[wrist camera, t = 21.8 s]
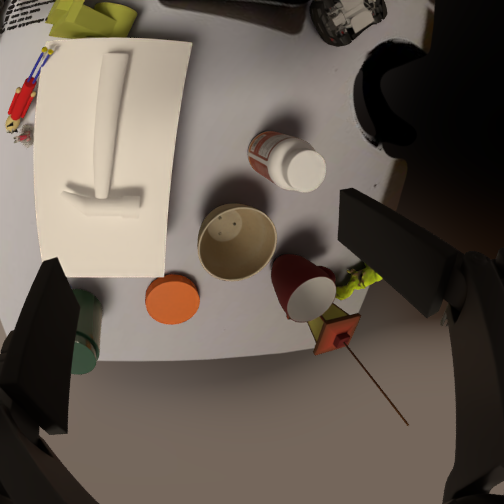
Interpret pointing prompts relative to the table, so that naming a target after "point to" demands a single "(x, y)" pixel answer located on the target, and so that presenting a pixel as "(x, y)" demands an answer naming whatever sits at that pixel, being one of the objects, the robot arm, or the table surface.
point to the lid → (172, 299)
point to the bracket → (90, 20)
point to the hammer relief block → (107, 153)
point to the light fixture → (337, 335)
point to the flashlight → (0, 3)
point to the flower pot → (236, 242)
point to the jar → (87, 333)
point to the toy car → (345, 18)
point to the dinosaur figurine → (357, 281)
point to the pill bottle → (287, 161)
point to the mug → (302, 287)
